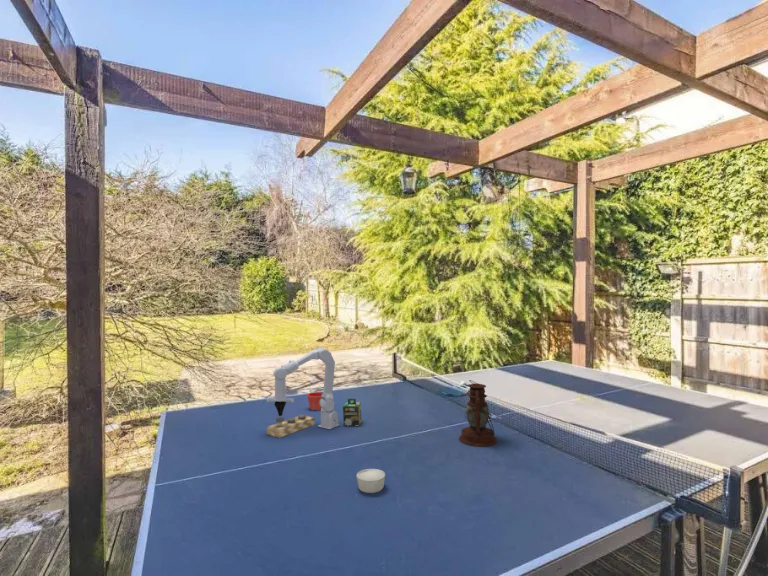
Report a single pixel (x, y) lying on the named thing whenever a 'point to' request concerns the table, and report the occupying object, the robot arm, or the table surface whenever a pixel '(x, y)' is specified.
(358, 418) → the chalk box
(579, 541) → the table surface
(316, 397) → the flower pot
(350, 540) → the table surface
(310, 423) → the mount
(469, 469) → the table surface
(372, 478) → the ramekin
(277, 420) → the plunger
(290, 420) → the plunger
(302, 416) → the plunger
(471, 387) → the lantern
